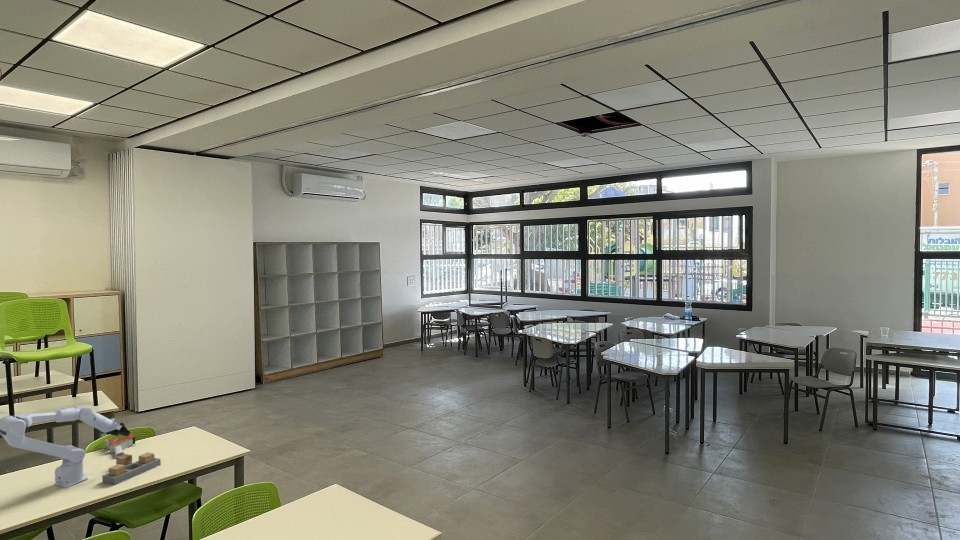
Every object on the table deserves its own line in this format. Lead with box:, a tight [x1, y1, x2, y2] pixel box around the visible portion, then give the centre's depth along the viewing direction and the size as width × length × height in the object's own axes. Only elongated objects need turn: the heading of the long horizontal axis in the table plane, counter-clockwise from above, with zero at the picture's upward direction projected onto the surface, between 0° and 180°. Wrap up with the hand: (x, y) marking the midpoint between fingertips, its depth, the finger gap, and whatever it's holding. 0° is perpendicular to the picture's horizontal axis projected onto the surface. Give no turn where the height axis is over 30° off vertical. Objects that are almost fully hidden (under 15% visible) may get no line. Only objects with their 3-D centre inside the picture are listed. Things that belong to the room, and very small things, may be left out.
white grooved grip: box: [104, 433, 136, 459], centre depth 266 cm, size 18×5×20 cm
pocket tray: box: [102, 452, 162, 486], centre depth 240 cm, size 22×8×6 cm, turn 160°
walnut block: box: [115, 453, 133, 466], centre depth 247 cm, size 4×4×5 cm
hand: (123, 434), depth 249 cm, fingers open, 7 cm apart
